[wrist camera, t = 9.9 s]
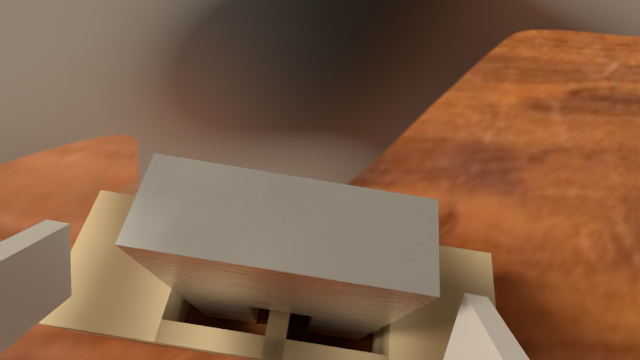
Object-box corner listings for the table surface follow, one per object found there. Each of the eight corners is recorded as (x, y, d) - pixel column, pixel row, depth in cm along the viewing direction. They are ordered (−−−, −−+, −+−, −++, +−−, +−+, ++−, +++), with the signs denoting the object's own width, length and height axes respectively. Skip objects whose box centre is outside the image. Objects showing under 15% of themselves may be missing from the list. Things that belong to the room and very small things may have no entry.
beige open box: (460, 271, 24) (491, 253, 20) (466, 394, 20) (504, 398, 17) (128, 217, 24) (100, 190, 20) (79, 332, 20) (36, 323, 17)
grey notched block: (362, 288, 23) (437, 199, 11) (357, 340, 21) (439, 297, 10) (219, 265, 23) (154, 153, 11) (206, 315, 21) (114, 244, 10)
